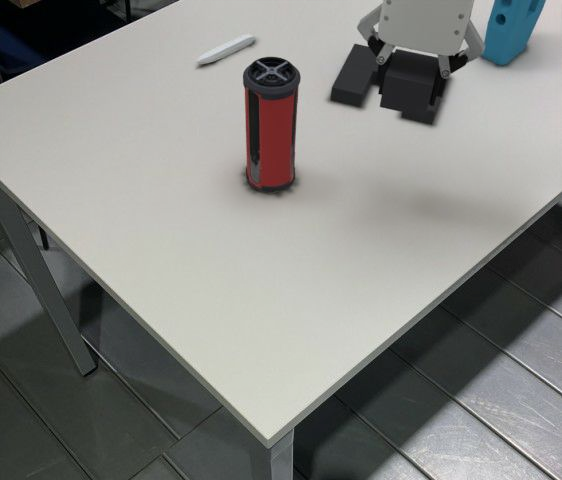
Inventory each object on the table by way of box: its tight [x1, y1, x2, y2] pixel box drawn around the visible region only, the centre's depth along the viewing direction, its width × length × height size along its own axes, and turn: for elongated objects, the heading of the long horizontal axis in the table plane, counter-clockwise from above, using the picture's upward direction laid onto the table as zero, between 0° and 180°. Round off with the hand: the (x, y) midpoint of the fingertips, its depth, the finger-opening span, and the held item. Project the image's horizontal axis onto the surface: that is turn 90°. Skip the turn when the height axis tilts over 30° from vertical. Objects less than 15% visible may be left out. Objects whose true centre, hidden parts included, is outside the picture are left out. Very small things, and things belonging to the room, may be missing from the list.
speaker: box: [242, 56, 302, 193], centre depth 89 cm, size 8×8×18 cm
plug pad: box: [379, 48, 439, 117], centre depth 79 cm, size 6×6×4 cm
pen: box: [195, 33, 256, 65], centre depth 113 cm, size 2×14×2 cm, turn 133°
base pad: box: [330, 43, 450, 126], centre depth 109 cm, size 18×14×2 cm
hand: (408, 92), depth 81 cm, fingers closed on plug pad, 6 cm apart
